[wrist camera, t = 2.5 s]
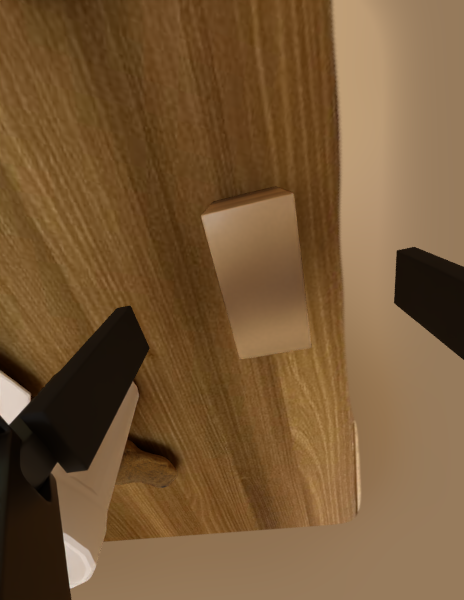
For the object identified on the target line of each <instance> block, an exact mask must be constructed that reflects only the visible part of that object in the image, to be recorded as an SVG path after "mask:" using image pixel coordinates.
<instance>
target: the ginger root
mask: <svg viewBox="0 0 464 600" xmlns="http://www.w3.org/2000/svg"><path fill="white" fill-rule="evenodd" d="M176 477H177V471H176V470H175V468H174V466H173V465H172V464H171V462H170V461H169V460H168V459H166V458H165V457H163V456H160V455H156V454H151V453H148V452H144V451H141V450H140V449H138V448H137V447H136V446H135V444H134V443H133V442H131V441H130V440H128V439H127V441H126V445H125V449H124V452H123V456H122V460H121V463H120V467H119V471H118V474H117V478H116V482H115V485H123V484H126V483H132V482H142V483H144V484H150V485H153V486H154V487H157V488H163V487H166V486H169V485H170V484H171V483H172V482H173V481H174V480H175V479H176Z"/></svg>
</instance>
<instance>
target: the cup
mask: <svg viewBox="0 0 464 600" xmlns="http://www.w3.org/2000/svg"><path fill="white" fill-rule="evenodd" d="M138 398H139V393H138V388H137V386H136V385H135V384H134V382H132V384H131V386H130V388H129V390H128V392H127V394H126V396H125V398H124V400H123V402H122V404H121V406H120V408H119V410H118V412H117V414H116V416H115V418H114V420H113V421H112V423H111V425H110V427H109V429H108V431H107V433H106V435H105V437H104V439H103V441H102V443H101V445H100V447H99V449H98V451H97V453H96V455H95V457H94V459H93V461H92V463H91V465H90V467H89V469H88V470H87V471H79V472H72V473H66V472H65V470H64V469H63V468H62V467H61V466H60V464H59V463H58V462H57V464H56V465H55V467H54V468H53V470H52V472H51V473H52V474H53V476H54V477H55V479H56V483H57V491H58V499H59V507H60V515H61V522H62V530H63V538H64V546H65V554H66V562H67V570H68V578H69V585H70V589H71V588H73V587H75V586H77V585H79V584H82V583H84V582H86V581H87V580H89V579H90V578H91V576H92V574H93V572H94V570H95V568H96V565H97V561H98V558H99V554H100V551H101V547H102V544H103V540H104V537H105V533H106V521H107V511H108V507H109V504H110V500H111V496H112V493H113V489H114V485H115V482H116V478H117V474H118V471H119V467H120V463H121V460H122V456H123V452H124V449H125V445H126V441H127V438H128V434H129V430H130V427H131V423H132V419H133V416H134V412H135V408H136V404H137V401H138Z"/></svg>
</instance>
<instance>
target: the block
mask: <svg viewBox="0 0 464 600" xmlns="http://www.w3.org/2000/svg"><path fill="white" fill-rule="evenodd" d="M201 219H202V222H203V226H204V230H205V233H206V237H207V241H208V244H209V248H210V252H211V256H212V259H213V263H214V267H215V270H216V274H217V278H218V281H219V285H220V289H221V292H222V296H223V300H224V303H225V307H226V311H227V314H228V318H229V322H230V325H231V329H232V333H233V336H234V340H235V344H236V347H237V351H238V355H239V358H240V359H247V358H253V357H259V356H265V355H271V354H277V353H284V352H290V351H296V350H302V349H308V348H311V347H312V346H311V338H310V329H309V320H308V312H307V303H306V294H305V285H304V277H303V268H302V259H301V251H300V242H299V233H298V225H297V216H296V207H295V198H294V193H292V192H289V191H286V190H284V189H281V188H279V187H276V186H275V187H271V188H267V189H263V190H259V191H254V192H250V193H246V194H242V195H238V196H234V197H230V198H226V199H222V200H218V201H214V202H213V203H212V204H211V205H210V206H209V207H208V208H207V209H206V210H205V212H204V213H203V214H202V215H201Z"/></svg>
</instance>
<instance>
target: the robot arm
mask: <svg viewBox="0 0 464 600" xmlns="http://www.w3.org/2000/svg"><path fill="white" fill-rule="evenodd" d="M395 278H396V279H395V297H394V303H395V304H396V305H397V306H398V307H400V308H401V309H402V310H403V311H404V312H406V313H407V314H408V315H409V316H411V317H412V318H413V319H414V320H415V321H417V322H418V323H419V324H421V325H422V326H423V327H424V328H425V329H427V330H428V331H429V332H430V333H431V334H433V335H434V336H435V337H436V338H438V339H439V340H440V341H441V342H442V343H444V344H445V345H446V346H447V347H449V348H450V349H451V350H452V351H454V352H455V353H456V354H457V355H458V356H460V357H461V358H462V359H463V360H464V267H463V266H460V265H458V264H455V263H453V262H450V261H448V260H445V259H443V258H440V257H438V256H435V255H433V254H431V253H428V252H426V251H423V250H421V249H418V248H416V247H412V248H407V249H402V250H397V257H396V277H395ZM148 350H149V345H148V343H147V341H146V339H145V337H144V334H143V332H142V330H141V328H140V326H139V323H138V321H137V319H136V317H135V314H134V312H133V310H132V308H131V306H125V307H121V308H117V309H116V310H115V311H114V312H113V313H112V314H111V315H110V316H109V317H108V319H107V320H106V321H105V322H104V323H103V324H102V325H101V326H100V327H99V328H98V330H97V331H96V332H95V333H94V334H93V335H92V336H91V337H90V338H89V339H88V341H87V342H86V343H85V344H84V345H83V346H82V347H81V348H80V349H79V351H78V352H77V353H76V354H75V355H74V356H73V357H72V358H71V359H70V360H69V362H68V363H67V364H66V365H65V366H64V367H63V368H62V369H61V370H60V371H59V372H58V373H57V374H55V375H54V376H53V377H52V378H51V380H50V381H49V382H48V383H47V384H46V385H45V387H43V388H42V389H41V390H40V392H39V393H38V395H37V396H35V397H34V398H33V399H32V400H31V401H30V402H29V404H28V405H27V406H26V407H25V408H24V409H23V410H22V411H21V412H20V413H19V415H18V416H17V417H16V418H15V419H14V420H13V421H12V422H11V423H10V424H9V425H8V423H7V422H6V421H5V420H4V419H3V418H2V417H1V415H0V600H71V594H70V585H69V578H68V570H67V562H66V554H65V546H64V538H63V530H62V522H61V515H60V507H59V499H58V491H57V483H56V479H55V477H54V476H53V474H52V473H51V472H52V470H53V468H54V467H55V465H56V464H57V462H58V463H59V464H60V466H61V467H62V468H63V469H64V470H65V472H66V473H72V472H79V471H87V470H88V469H89V467H90V465H91V463H92V461H93V459H94V457H95V455H96V453H97V451H98V449H99V447H100V445H101V443H102V441H103V439H104V437H105V435H106V433H107V431H108V429H109V427H110V425H111V423H112V421H113V420H114V418H115V416H116V414H117V412H118V410H119V408H120V406H121V404H122V402H123V400H124V398H125V396H126V394H127V392H128V390H129V388H130V386H131V384H132V382H133V380H134V378H135V376H136V374H137V372H138V370H139V368H140V366H141V364H142V362H143V360H144V358H145V356H146V354H147V352H148Z"/></svg>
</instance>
